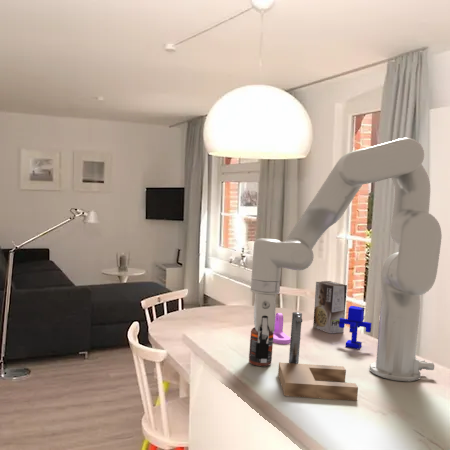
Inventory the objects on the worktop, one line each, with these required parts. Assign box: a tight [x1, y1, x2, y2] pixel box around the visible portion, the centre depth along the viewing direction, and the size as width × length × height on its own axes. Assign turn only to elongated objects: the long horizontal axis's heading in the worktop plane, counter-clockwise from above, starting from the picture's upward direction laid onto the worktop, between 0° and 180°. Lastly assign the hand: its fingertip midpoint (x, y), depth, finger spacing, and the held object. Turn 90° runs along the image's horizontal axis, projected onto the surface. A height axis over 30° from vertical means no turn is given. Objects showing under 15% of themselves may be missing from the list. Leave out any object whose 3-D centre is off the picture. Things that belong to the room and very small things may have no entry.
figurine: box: [339, 305, 372, 350], centre depth 156 cm, size 8×8×12 cm
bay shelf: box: [277, 361, 359, 402], centre depth 120 cm, size 16×14×3 cm
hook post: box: [288, 311, 303, 364], centre depth 128 cm, size 4×6×15 cm, turn 0°
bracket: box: [273, 312, 291, 345], centre depth 160 cm, size 13×6×7 cm, turn 14°
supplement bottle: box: [248, 326, 274, 367], centre depth 134 cm, size 6×6×11 cm
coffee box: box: [312, 280, 348, 334], centre depth 175 cm, size 9×6×16 cm
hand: (260, 353), depth 134 cm, fingers closed on supplement bottle, 6 cm apart
